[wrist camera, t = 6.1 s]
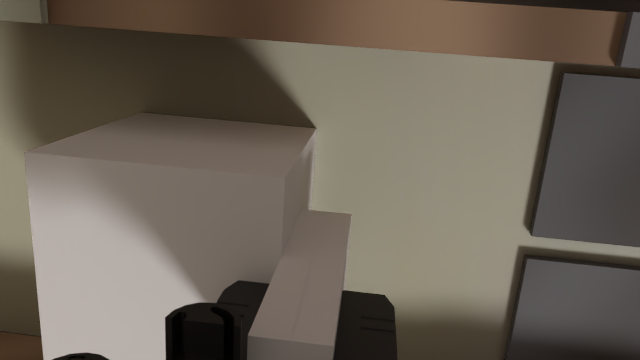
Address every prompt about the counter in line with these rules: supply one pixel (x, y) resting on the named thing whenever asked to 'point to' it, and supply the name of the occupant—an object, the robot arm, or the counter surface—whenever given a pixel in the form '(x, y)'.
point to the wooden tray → (561, 151)
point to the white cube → (157, 223)
